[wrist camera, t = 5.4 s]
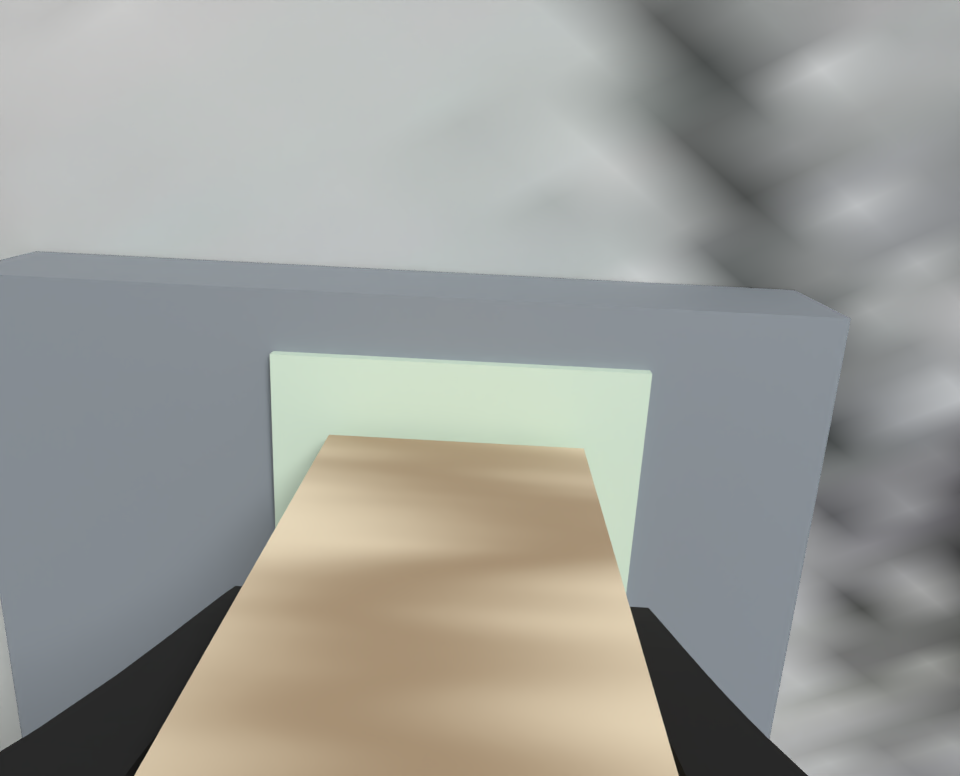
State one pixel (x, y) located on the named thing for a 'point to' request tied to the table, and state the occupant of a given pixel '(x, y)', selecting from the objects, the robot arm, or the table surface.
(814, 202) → the table surface
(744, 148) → the table surface
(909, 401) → the table surface
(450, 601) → the beech block
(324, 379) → the pocket board
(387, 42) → the table surface
